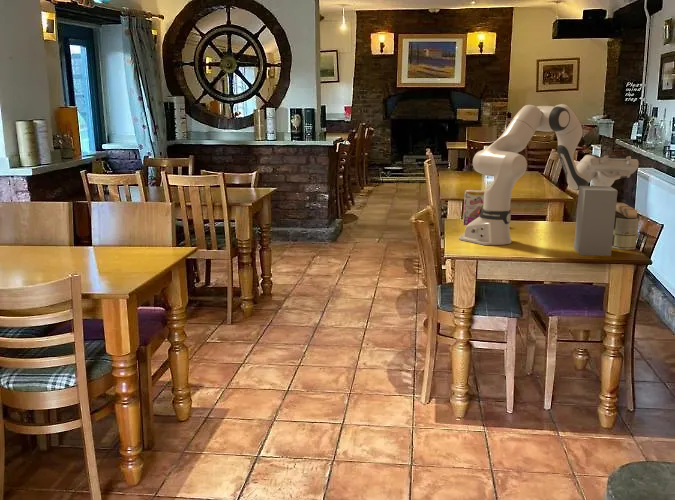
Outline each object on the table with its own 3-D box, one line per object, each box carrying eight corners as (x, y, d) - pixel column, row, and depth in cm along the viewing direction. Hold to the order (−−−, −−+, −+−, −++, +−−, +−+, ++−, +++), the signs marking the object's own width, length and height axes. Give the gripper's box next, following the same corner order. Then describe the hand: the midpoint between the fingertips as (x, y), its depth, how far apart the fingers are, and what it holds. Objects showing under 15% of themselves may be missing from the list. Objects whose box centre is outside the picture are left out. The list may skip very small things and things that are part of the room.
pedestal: (611, 255, 264) (617, 190, 258) (579, 254, 266) (585, 189, 260) (604, 249, 276) (610, 186, 270) (573, 247, 278) (579, 185, 272)
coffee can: (603, 245, 282) (607, 212, 279) (622, 243, 286) (625, 211, 283) (622, 250, 273) (626, 216, 270) (641, 248, 277) (645, 215, 274)
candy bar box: (463, 224, 325) (465, 191, 321) (462, 222, 330) (464, 189, 326) (487, 225, 324) (489, 191, 320) (485, 223, 329) (487, 190, 325)
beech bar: (636, 218, 268) (637, 210, 267) (627, 217, 268) (628, 210, 267) (622, 209, 286) (623, 202, 285) (614, 209, 286) (615, 202, 286)
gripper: (585, 163, 305) (592, 150, 292) (632, 164, 302) (642, 151, 289) (585, 176, 304) (592, 163, 290) (633, 177, 300) (642, 164, 287)
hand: (617, 157), depth 290 cm, fingers open, 8 cm apart
